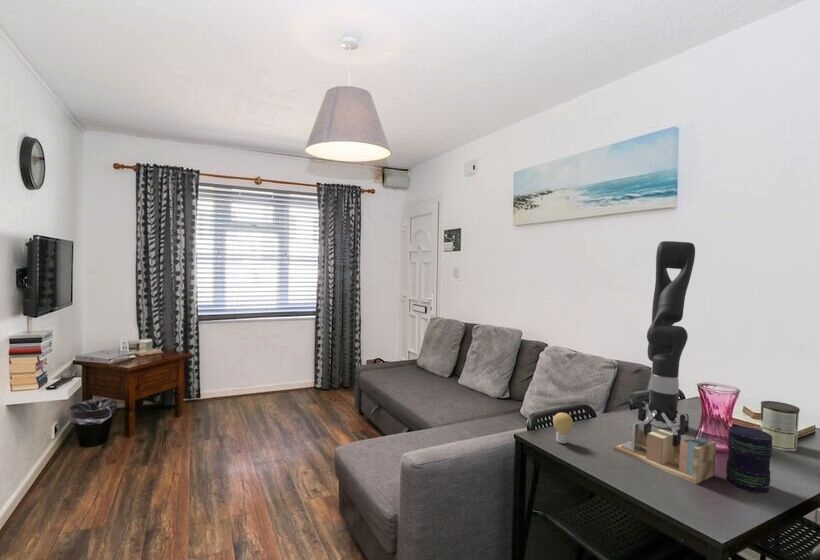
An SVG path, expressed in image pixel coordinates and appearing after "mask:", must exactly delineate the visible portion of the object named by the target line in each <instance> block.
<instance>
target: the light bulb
mask: <svg viewBox="0 0 820 560" xmlns="http://www.w3.org/2000/svg"><path fill="white" fill-rule="evenodd" d="M552 423H553V424H552V425H553V427H554V429H555V430H556V433H555V434H556V435H555V437H556V438H555V440H556V441H557V442H558V443H559V444H567V443H568V442H569V440H568V439H569V431H571V429H572V428H573V425H574V421H573V418H572V416H571V415H569V414H568V413H565V412H558V413H556V414H555V415H554V416H553V418H552Z"/></svg>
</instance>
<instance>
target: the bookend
mask: <svg viewBox="0 0 820 560" xmlns="http://www.w3.org/2000/svg"><path fill="white" fill-rule="evenodd" d="M632 427H633V430H632V429H631V430H632V442H631V441H629V442H630V443H628V442H625V443H626V444H624V443H622V444H623V445H621V444H620V445H621V447H622V448H624V449H627V450H629V451H631V452H637V451H640V450H643V449H646V440H647V436H645V434H644V423H643V422H642V421H638V422H635V423H632Z"/></svg>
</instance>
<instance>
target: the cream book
mask: <svg viewBox="0 0 820 560" xmlns="http://www.w3.org/2000/svg"><path fill="white" fill-rule="evenodd" d="M673 434H674V433H673V432H669V431H666V430H664V429H657V430H654V431H651V432H650V433H648V434H647V453H646V459H648V460H650V461H653V462H655V463H658V464H660V465H662V464H664V463H667V462H670V461H672V460H674V450H675V447H674V446H673V445H672V444H673Z"/></svg>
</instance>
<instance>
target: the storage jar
mask: <svg viewBox="0 0 820 560" xmlns="http://www.w3.org/2000/svg"><path fill="white" fill-rule="evenodd" d="M772 438H773V437H772V436H771V435H770V434H768V433H766V432H764V431H761V430H760V429H757V428H754V427H749V426H741V425H732V426H729V427H728V435H727V444H726V445H727V448H728V452H727V453H728V454H727V460H726V466H725V471H726V472H725V481H726V483H728V484H729V485H730V486H732V487H734V488H736V489H738V490H740V491H741V490H742V491H745V492H747V493H752V494H759V495H763V494H764V495H765V494H768V493H769V492H770V484H771V478H772V477H771V470H770V468H771V467H770V464H771V458H772V455H773V448H772Z"/></svg>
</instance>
